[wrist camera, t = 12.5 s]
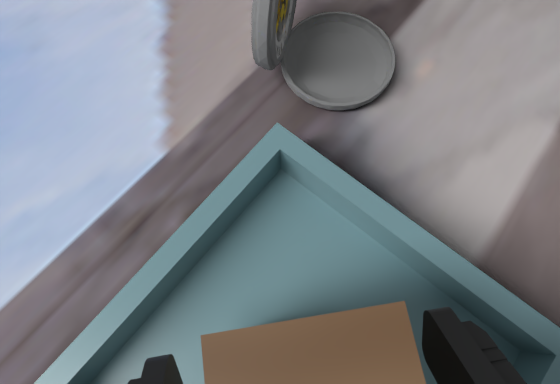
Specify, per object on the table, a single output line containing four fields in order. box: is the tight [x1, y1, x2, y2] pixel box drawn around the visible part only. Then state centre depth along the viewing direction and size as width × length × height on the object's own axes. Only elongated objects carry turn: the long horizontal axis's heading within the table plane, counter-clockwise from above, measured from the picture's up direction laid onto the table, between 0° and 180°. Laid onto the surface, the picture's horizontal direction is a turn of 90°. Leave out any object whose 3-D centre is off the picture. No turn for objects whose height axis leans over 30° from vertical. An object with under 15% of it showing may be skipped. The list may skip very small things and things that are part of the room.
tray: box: [34, 123, 560, 384], centre depth 16 cm, size 16×16×3 cm
